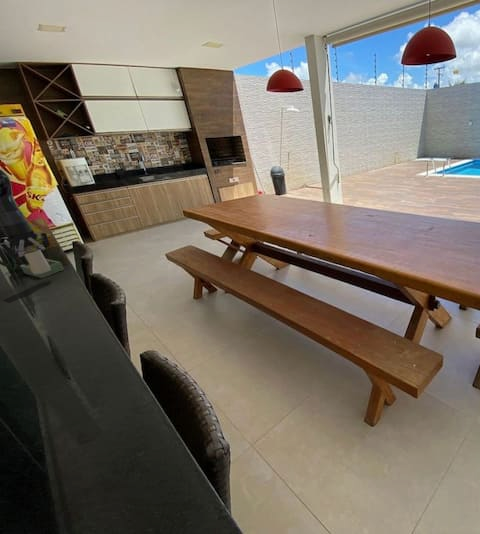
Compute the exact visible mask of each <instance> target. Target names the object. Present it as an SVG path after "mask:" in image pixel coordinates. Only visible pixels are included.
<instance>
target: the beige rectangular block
mask: <svg viewBox="0 0 480 534" xmlns="http://www.w3.org/2000/svg"><path fill="white" fill-rule="evenodd" d="M23 256H24V257H25V258H26V260H27V262H28V263H29V265H28V266H29V268H30V270H31V271H32V273H33V274H41V273H45V272H47V271H49V270H51V267H50V265H49V264H48V262H47V260H46V258H45V257H44V255H43V253H42V251H41V250H40V249H38V248H33V249H32V250H28V251H25V252H23Z"/></svg>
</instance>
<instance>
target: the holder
mask: <svg viewBox="0 0 480 534" xmlns="http://www.w3.org/2000/svg"><path fill="white" fill-rule="evenodd" d="M46 260H47V262H48V264H49V265H50V267H51V270H49V271H47V272H45V273H41V274H33V273H32V271H31V270H30V268H29V266H28V265H25V264H20V265H19V266H20V268H21V271H23V273H24V274H25V275H28V276H33V277H36V278H39V279H44V278H47V277H49V276H52V274H53V275H55V274H58V273H60V272H59V271H61V272H64V271H65V270H66V269H65V268H64V266H63V264H62V262H61V261H57V260H52V259H49V258H47V259H46ZM63 270H64V271H63ZM57 272H58V273H57ZM54 273H55V274H54Z"/></svg>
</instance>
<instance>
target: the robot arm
mask: <svg viewBox="0 0 480 534" xmlns="http://www.w3.org/2000/svg"><path fill="white" fill-rule="evenodd" d="M0 228H1V231H3V233H4V235H5V236H6V237H7V241H4V242H1V243H0V249H2V250H3V251H4V252H5V254H6V255H8V257H10V258H17V259H18V260H19V262H20V264H21V265H23V264H25V265H29V263H28V262H27V260H26V258H25V257H24V256H23V250H24V248H25V247H28V246H29V247H33V246H34V247H35V248H36V249H40V250H41V251H42V253H43V255H44V257H45V258H46V259H49V256H50V255H49V253H48V251H47V248H49V247H51V245H50V241H49V238H48V235H47V233H46V232H43V231H41V232H39V233H36V232H35V231H34V229H33V228H32V226H31V224H30V222H29V221H28V220H27V217H26V215H25V214H24V212H23V211H22V210H21V208H20V206H19V205H18V203H17V201H16V200H15V198H14V192H13V187H12V183H11V179H10V177H9V175H8V174H7V173H6V172H5V171H4V170H2V169H1V168H0ZM38 238H39V239H40V240H41V243H39V242H38V241H37V239H38ZM11 245H12V246H14V250H15V253H14V251H12V249H11V248H10V247H11Z"/></svg>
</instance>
